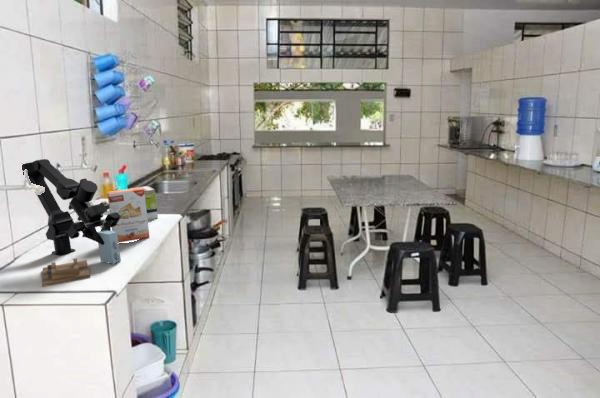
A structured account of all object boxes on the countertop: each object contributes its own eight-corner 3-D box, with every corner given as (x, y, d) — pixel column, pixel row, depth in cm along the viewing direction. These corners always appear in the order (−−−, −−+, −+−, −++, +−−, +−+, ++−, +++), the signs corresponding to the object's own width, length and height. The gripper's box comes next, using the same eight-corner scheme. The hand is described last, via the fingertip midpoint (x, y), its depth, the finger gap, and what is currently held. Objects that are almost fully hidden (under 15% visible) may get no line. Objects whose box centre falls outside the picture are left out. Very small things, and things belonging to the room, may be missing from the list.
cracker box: (115, 244, 195) (107, 193, 190) (113, 240, 200) (106, 191, 196) (150, 237, 201) (144, 188, 197) (147, 234, 206) (141, 186, 202)
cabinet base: (43, 270, 167) (41, 262, 166) (86, 262, 173) (85, 254, 172) (42, 286, 151) (40, 277, 150) (90, 277, 157) (88, 268, 156)
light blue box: (100, 261, 172) (96, 232, 170) (108, 259, 175) (104, 230, 173) (115, 264, 168) (111, 234, 166) (123, 261, 171) (119, 232, 169)
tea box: (159, 218, 235) (155, 188, 232) (138, 222, 230) (134, 191, 227) (151, 213, 248) (148, 185, 245) (131, 216, 243) (127, 187, 240)
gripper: (67, 201, 162) (92, 235, 159) (114, 190, 178) (137, 222, 174) (57, 221, 168) (81, 255, 164) (103, 210, 183) (126, 240, 180)
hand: (108, 242), depth 171 cm, fingers closed on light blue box, 3 cm apart
